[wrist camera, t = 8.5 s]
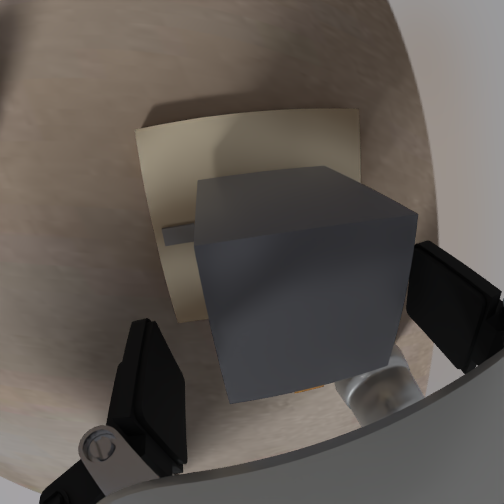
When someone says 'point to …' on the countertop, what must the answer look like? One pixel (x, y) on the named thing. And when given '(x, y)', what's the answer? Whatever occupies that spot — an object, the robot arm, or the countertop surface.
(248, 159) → the post base
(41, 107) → the countertop surface
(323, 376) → the dark grey cube
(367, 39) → the countertop surface
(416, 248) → the robot arm
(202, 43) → the countertop surface
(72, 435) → the countertop surface
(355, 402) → the plastic bottle
